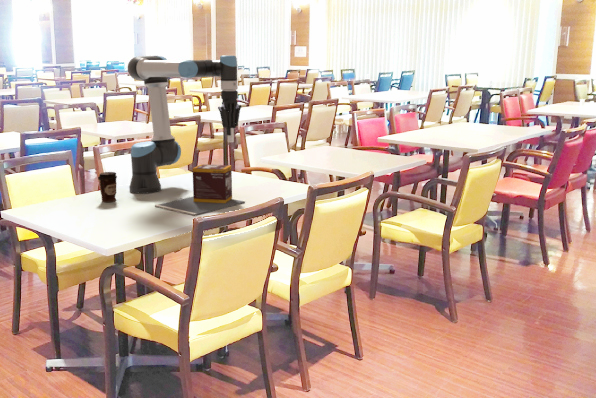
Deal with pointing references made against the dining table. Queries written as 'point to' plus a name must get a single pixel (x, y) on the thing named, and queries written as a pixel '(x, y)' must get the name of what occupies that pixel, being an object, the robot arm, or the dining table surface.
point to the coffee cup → (108, 186)
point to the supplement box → (212, 183)
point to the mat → (196, 206)
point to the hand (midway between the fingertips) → (230, 142)
